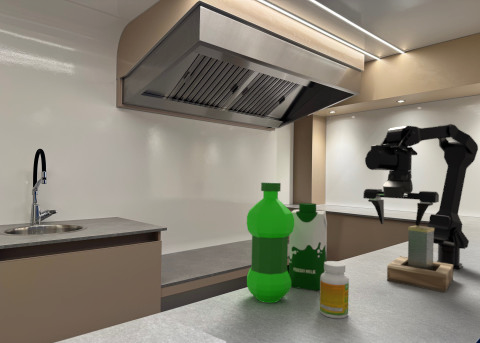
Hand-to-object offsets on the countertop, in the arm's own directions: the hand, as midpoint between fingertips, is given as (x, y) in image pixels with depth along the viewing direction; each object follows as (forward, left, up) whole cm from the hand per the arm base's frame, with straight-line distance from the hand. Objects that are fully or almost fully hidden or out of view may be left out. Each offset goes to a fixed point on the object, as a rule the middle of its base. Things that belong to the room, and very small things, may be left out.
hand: (399, 225), depth 96 cm
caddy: (+4, +7, -13) cm, 15 cm away
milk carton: (+28, -14, -13) cm, 34 cm away
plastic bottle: (+42, -16, -13) cm, 47 cm away
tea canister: (+4, +7, -12) cm, 15 cm away
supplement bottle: (+40, -2, -13) cm, 42 cm away
